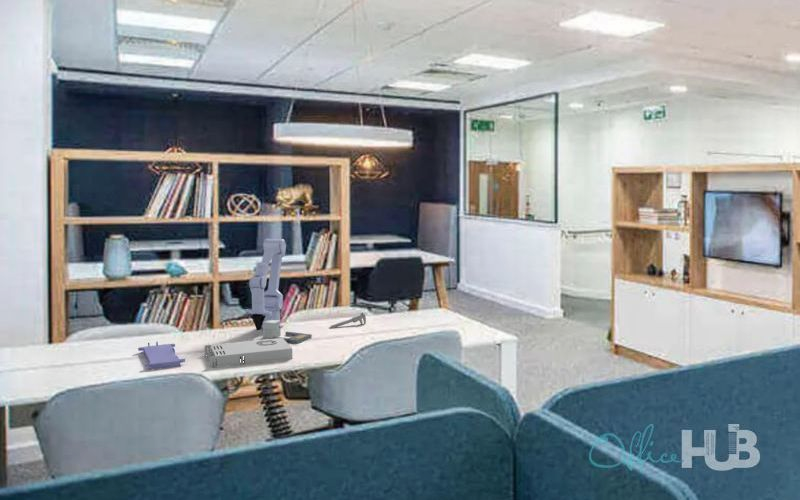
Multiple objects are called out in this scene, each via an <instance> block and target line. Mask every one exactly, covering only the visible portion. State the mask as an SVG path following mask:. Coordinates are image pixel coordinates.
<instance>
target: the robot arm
mask: <svg viewBox="0 0 800 500" xmlns="http://www.w3.org/2000/svg"><path fill="white" fill-rule="evenodd" d="M262 245H263V251H264V252H263V255H262V258H261V262H260V263H258V264H257V267H256V269H255V271H254V275H253V276H251V277H250V279H249V282H248V286H249V288H250V292H251V308H246V309H244V314H247V315H251V316H250V318H251V320H252V321H253V324H254V326H255V330H256V331H261V330H262V329H263V322H265V321H268V320H280V319H281V318H280V317H281V316H280V311H281V309H282V308H283V306H284V295H283V294H282V293H281V292H280V291H279V286H280V278H281V277H280V276H281V271H282V261H283V257H284V258H285V256H286V249H287V244H286V240H285V239H283V238H279V239H278V238H265V239H264V240H263V243H262ZM269 264H270V266H269ZM268 273H269V279H268V285H267V276H268ZM267 286H268V287H267ZM266 287H267V290H265V288H266ZM280 321H281V320H280ZM283 327H284V325H283V324H280V328H283Z"/></svg>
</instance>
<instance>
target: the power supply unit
mask: <svg viewBox="0 0 800 500" xmlns="http://www.w3.org/2000/svg"><path fill="white" fill-rule="evenodd" d="M283 338H284V337H282V338H275V339H272V338H266V339H256V340H254V339H253V340H246V341H236V342H225V343H224V342H223V343H215V344H205V345H204V348H203V349H204V356H205V355H207V357H206V359H208V360H207V362H208V361H209V362H208V364H209V363H210V364H209V368H210V367H212V368H217V367H216V366H221V367H227V366H226V365H230V366H234V365H233V364H240V359H241V363H243V361H244V363H249V364H254V363H253V362H258V363H266V362H265V361H267V362H274V361H275V360H276V361H283V360H284V361H285V360H292V359H293V348H292V346H291V345H290V343H288V342H286V341H285V340H284V339H283ZM218 354H219V355H218ZM243 356H244V360H243ZM240 365H241V364H240ZM213 366H214V367H213Z"/></svg>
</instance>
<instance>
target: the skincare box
mask: <svg viewBox="0 0 800 500" xmlns="http://www.w3.org/2000/svg"><path fill="white" fill-rule="evenodd" d="M280 325H281V320H268V321H265V322H263V328H262V330H263V331H262V336H263V337H262V338H263V339H264V338H266V339H272V337H281V327H280Z"/></svg>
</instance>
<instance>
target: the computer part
mask: <svg viewBox="0 0 800 500" xmlns="http://www.w3.org/2000/svg"><path fill="white" fill-rule="evenodd" d="M155 342H156V343H155V344H156V345H150V342H147V346H139V347H138V349H137V350H138V351H140V352H142V353H143V352H144V353H143V355H144V354H145V355H144V356H146V357H145V359H146V358H147V359H146V361H147V360H148V361H147V362H146V363H144V366H145V368H146V367H148V368H150V367H151V368H150V370H151V369H154V370H159V368H162V369H169V367H170V368H177V367H181V363H185V362H186V358H179V356H178V355H177V354H176V351H175V350H176V349H175V347H176V344H175V343H167V344H166V343H164V344H159V343H158V341H155ZM148 362H149V363H148Z"/></svg>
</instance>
